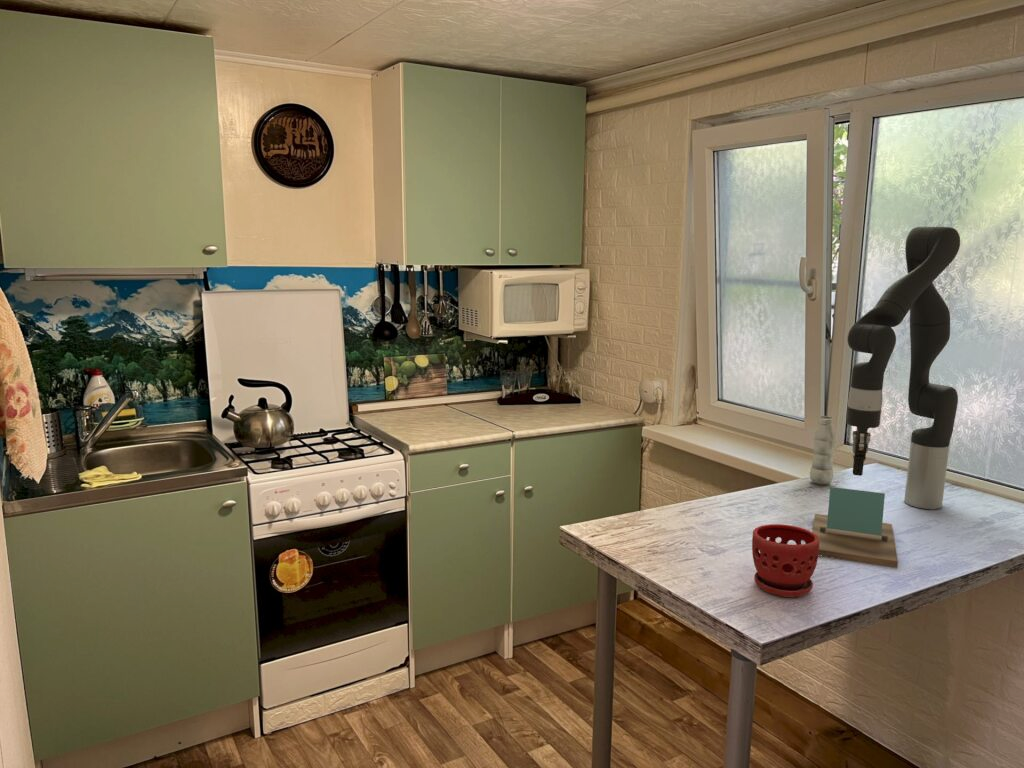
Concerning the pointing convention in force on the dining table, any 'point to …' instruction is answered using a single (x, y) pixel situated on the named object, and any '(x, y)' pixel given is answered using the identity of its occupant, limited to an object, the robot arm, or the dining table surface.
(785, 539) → the plant pot
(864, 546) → the board
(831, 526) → the tile
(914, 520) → the dining table surface
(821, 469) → the plastic bottle
